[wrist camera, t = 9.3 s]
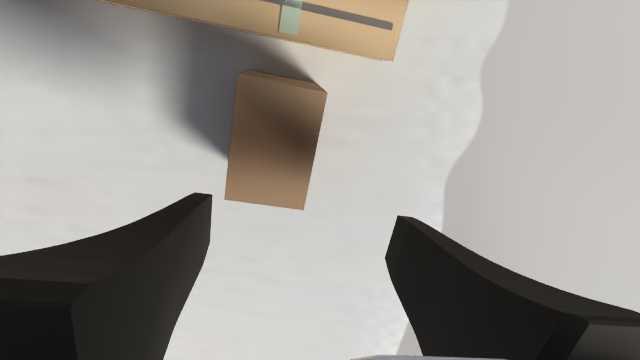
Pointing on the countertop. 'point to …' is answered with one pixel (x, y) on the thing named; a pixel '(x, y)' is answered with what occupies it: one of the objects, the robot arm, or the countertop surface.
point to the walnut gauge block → (273, 139)
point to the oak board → (298, 20)
